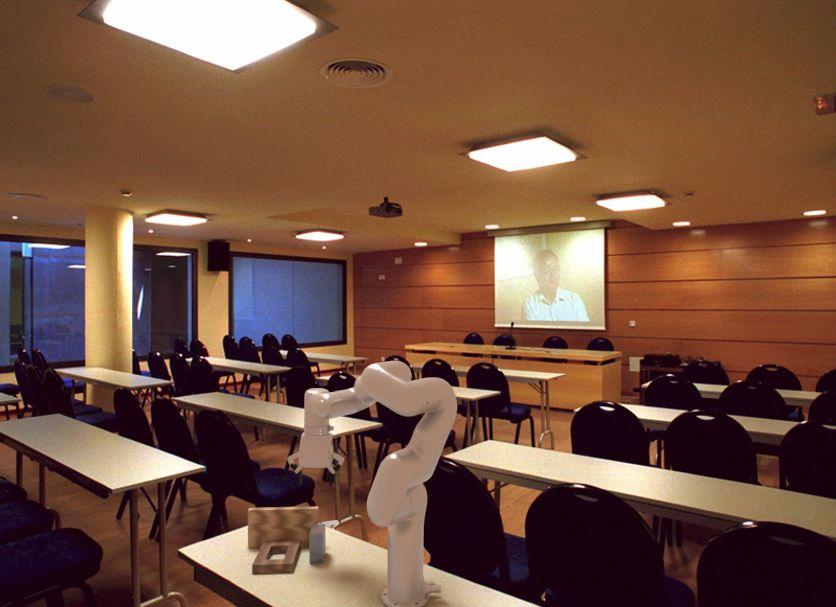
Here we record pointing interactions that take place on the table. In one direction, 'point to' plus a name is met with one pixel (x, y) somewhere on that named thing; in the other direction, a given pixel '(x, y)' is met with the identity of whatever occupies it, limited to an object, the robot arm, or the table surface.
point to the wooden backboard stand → (279, 535)
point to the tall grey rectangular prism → (317, 544)
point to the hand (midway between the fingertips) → (315, 485)
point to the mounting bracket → (331, 523)
